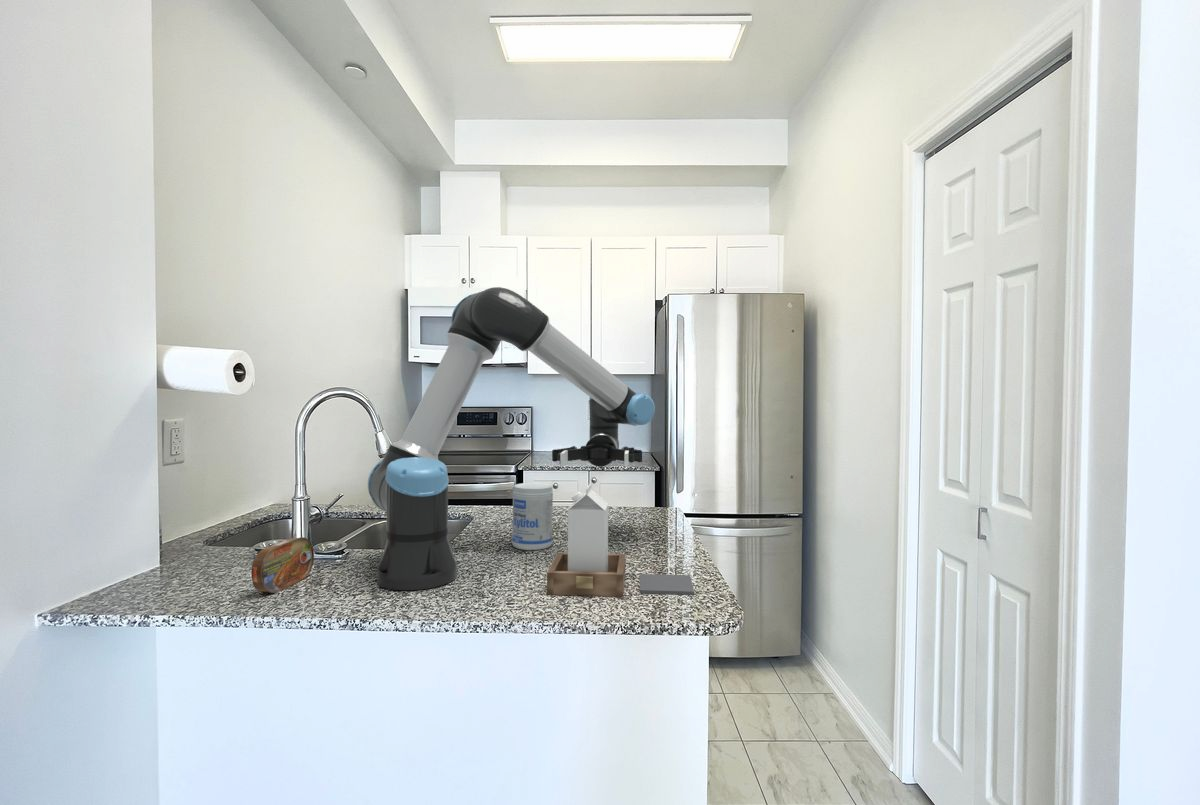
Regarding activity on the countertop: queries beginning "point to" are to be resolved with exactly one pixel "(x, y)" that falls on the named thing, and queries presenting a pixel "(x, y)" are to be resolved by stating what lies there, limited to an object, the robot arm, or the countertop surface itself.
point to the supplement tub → (532, 516)
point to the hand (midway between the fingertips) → (594, 459)
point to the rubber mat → (666, 584)
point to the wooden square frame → (586, 578)
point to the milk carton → (588, 533)
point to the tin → (282, 565)
